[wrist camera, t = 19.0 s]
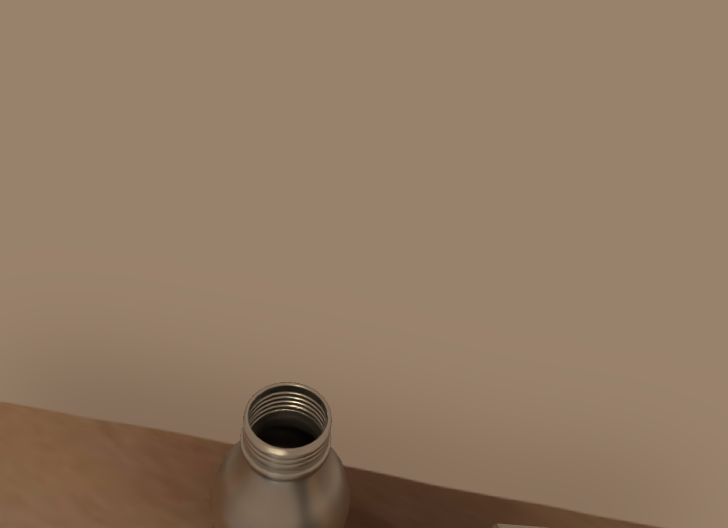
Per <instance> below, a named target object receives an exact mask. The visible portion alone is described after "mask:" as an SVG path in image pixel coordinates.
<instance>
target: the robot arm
mask: <svg viewBox="0 0 728 528" xmlns="http://www.w3.org/2000/svg"><path fill="white" fill-rule="evenodd" d="M492 528H546V527H534V526H521V525H509V524H495V525H494V526H492Z"/></svg>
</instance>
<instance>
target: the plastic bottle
mask: <svg viewBox="0 0 728 528" xmlns="http://www.w3.org/2000/svg"><path fill="white" fill-rule="evenodd" d="M331 422H332V419H331V412H330V408H329V406H328V403H327V402H326V400H325V399H324V398H323V397H322V396H321V395H320V394H319V393H318V392H317V391H315V390H314V389H312V388H310V387H308V386H306V385H302V384H299V383H292V382H281V383H276V384H272V385H269V386H266V387H264V388H263V389H261V390H259V391H258V392H257V393H255V394H254V395H253V396H252V398H251V399H250V400H249V402H248V404H247V406H246V409H245V413H244V421H243V428H242V431H241V439H240V441H239V442H238V443H236V444H235V445H234V446H233V447H232V448H231V449H230V450H229V451H228V453H227V454H226V455H225V456H224V458H223V460H222V462H221V464H220V466H219V468H218V470H217V472H216V474H215V476H214V478H213V482H212V485H211V489H210V512H211V519H212V524H213V528H344V525H345V522H346V518H347V515H348V511H349V507H350V490H349V484H348V480H347V476H346V472H345V469H344V467H343V464H342V462H341V460H340V458H339V457H338V456H337V454H336V452H335V451H334V450H333V449H332V448H331V447H330V445H331V434H330V430H331Z"/></svg>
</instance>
